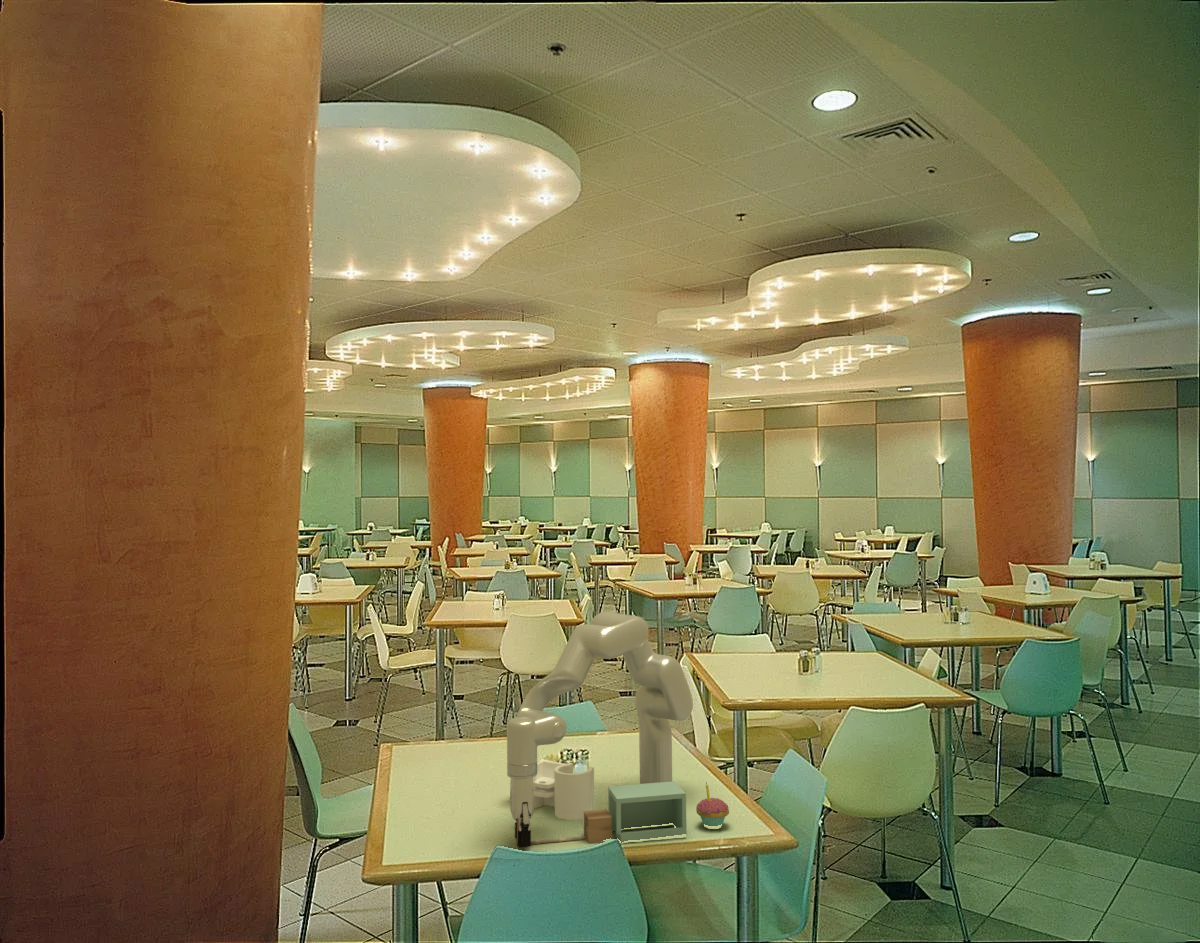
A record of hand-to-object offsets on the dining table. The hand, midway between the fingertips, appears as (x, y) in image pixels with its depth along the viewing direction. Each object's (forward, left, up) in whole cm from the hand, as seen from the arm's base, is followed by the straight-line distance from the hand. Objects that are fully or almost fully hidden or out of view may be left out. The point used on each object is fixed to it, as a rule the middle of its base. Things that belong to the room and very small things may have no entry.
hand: (522, 841), depth 224 cm
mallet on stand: (0, +10, -1) cm, 10 cm away
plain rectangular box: (0, +32, -1) cm, 32 cm away
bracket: (-25, +11, -1) cm, 27 cm away
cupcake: (-1, +50, -1) cm, 50 cm away
